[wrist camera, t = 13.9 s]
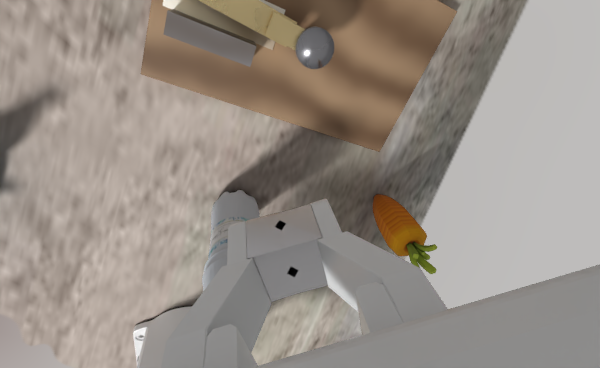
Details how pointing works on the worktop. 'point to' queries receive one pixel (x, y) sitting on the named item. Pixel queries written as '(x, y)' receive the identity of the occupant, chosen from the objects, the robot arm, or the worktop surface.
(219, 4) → the swing bar
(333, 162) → the worktop surface
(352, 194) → the worktop surface
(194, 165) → the worktop surface
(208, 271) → the bottle
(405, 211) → the carrot
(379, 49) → the latch board
